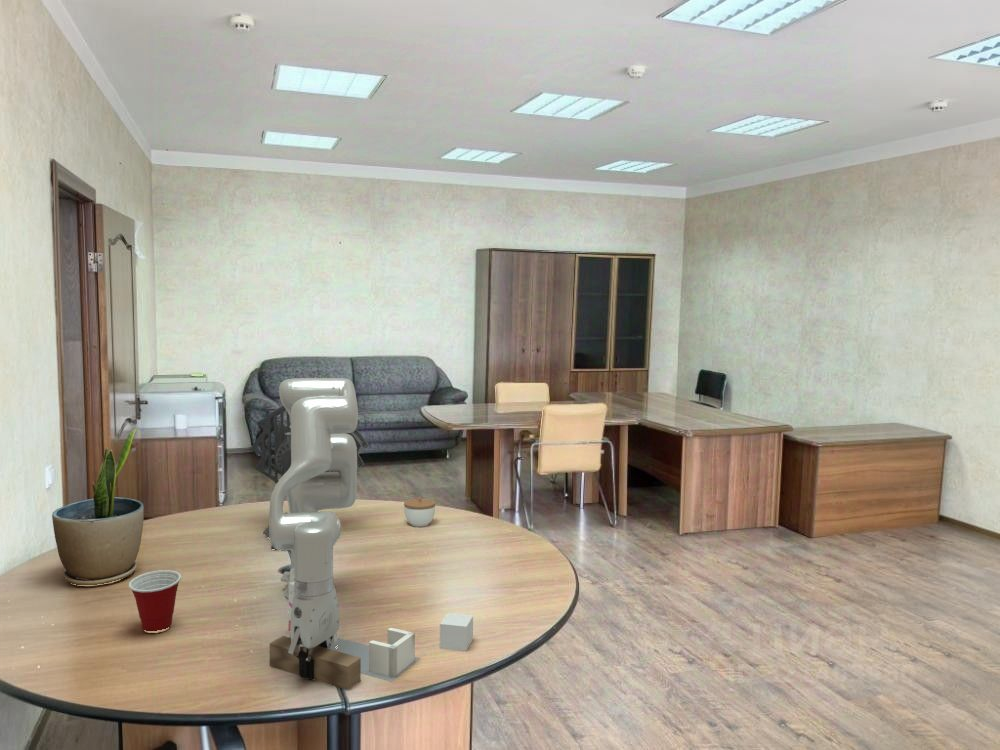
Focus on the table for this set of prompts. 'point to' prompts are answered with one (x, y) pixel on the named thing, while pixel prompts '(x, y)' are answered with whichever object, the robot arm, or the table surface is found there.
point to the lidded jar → (419, 511)
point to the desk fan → (286, 448)
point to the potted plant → (100, 529)
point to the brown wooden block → (318, 664)
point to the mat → (362, 656)
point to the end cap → (392, 653)
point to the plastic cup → (155, 598)
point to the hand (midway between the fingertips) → (314, 671)
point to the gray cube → (456, 631)
